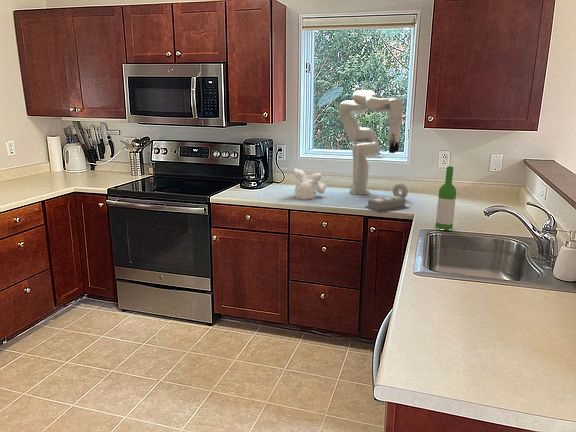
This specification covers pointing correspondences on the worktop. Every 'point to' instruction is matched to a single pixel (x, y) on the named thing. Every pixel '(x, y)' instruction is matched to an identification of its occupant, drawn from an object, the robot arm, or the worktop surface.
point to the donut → (402, 187)
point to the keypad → (387, 205)
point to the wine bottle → (446, 202)
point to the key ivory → (378, 200)
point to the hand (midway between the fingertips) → (393, 152)
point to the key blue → (387, 199)
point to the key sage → (395, 197)
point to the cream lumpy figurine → (308, 185)
